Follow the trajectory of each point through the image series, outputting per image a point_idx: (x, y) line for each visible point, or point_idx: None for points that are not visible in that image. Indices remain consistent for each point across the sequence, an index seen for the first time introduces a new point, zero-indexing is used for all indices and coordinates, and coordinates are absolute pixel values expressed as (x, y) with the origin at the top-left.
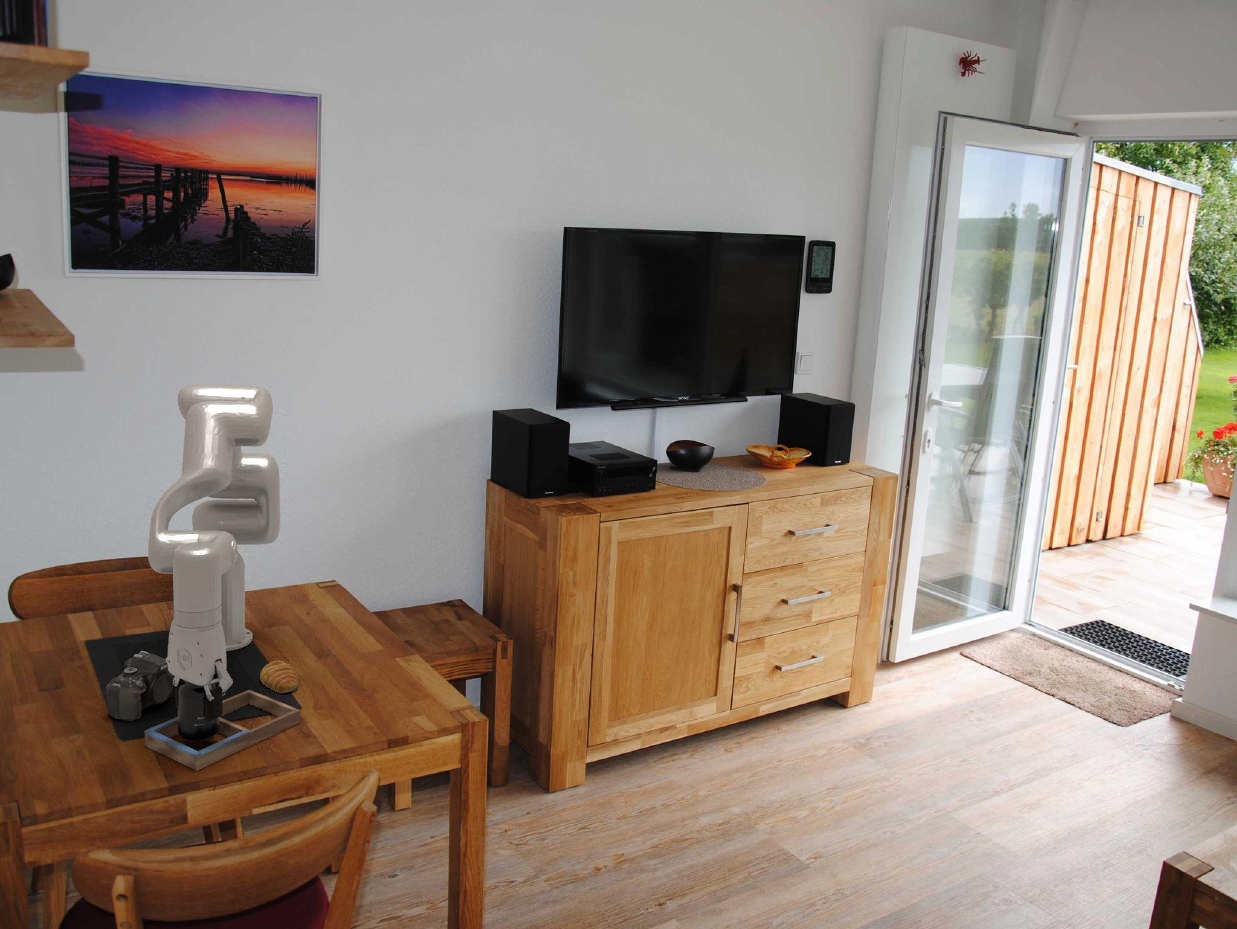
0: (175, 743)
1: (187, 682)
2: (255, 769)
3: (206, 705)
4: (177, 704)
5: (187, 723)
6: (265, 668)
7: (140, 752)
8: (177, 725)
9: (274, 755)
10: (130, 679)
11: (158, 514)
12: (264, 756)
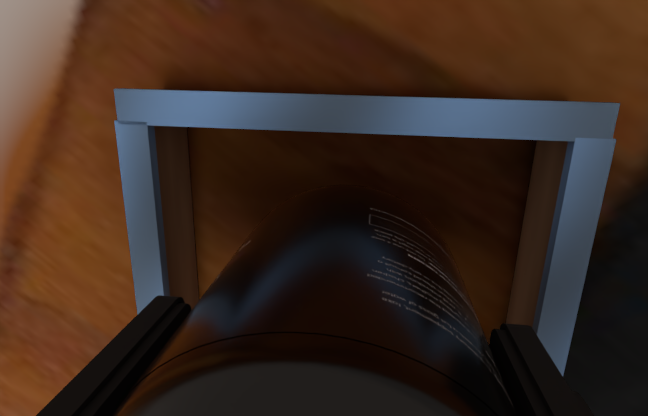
0: (319, 112)
1: None
2: (15, 240)
3: (80, 375)
4: (516, 339)
5: (292, 223)
6: None
7: (538, 41)
8: (531, 293)
9: (62, 349)
10: None
11: None
12: (79, 326)
